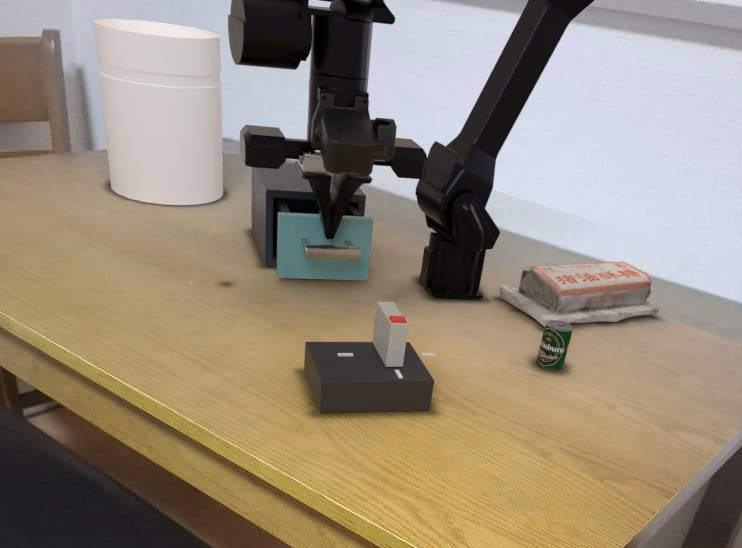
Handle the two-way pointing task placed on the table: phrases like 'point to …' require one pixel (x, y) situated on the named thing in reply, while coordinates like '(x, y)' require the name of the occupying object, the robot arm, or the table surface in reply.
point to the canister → (161, 110)
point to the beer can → (554, 345)
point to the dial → (390, 334)
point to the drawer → (319, 243)
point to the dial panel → (365, 379)
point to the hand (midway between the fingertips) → (328, 238)
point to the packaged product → (582, 292)
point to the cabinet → (285, 186)
